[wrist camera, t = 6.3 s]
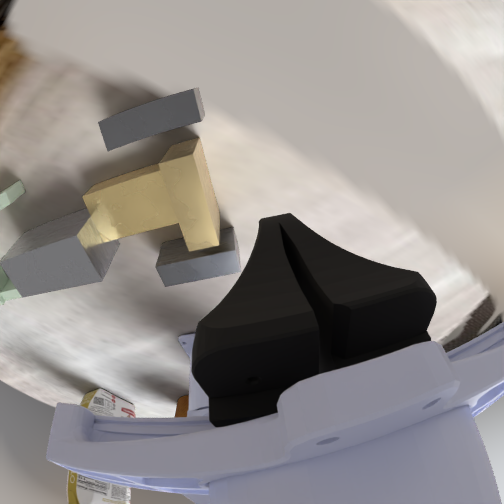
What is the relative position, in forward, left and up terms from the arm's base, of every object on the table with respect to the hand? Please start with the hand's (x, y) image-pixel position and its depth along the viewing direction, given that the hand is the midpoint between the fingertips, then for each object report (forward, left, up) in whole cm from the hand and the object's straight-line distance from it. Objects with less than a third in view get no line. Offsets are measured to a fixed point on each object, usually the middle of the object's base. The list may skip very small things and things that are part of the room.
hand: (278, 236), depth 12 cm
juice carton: (-32, +32, -10) cm, 46 cm away
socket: (0, +6, -9) cm, 11 cm away
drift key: (0, +8, -9) cm, 12 cm away
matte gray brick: (-2, +17, -10) cm, 20 cm away
